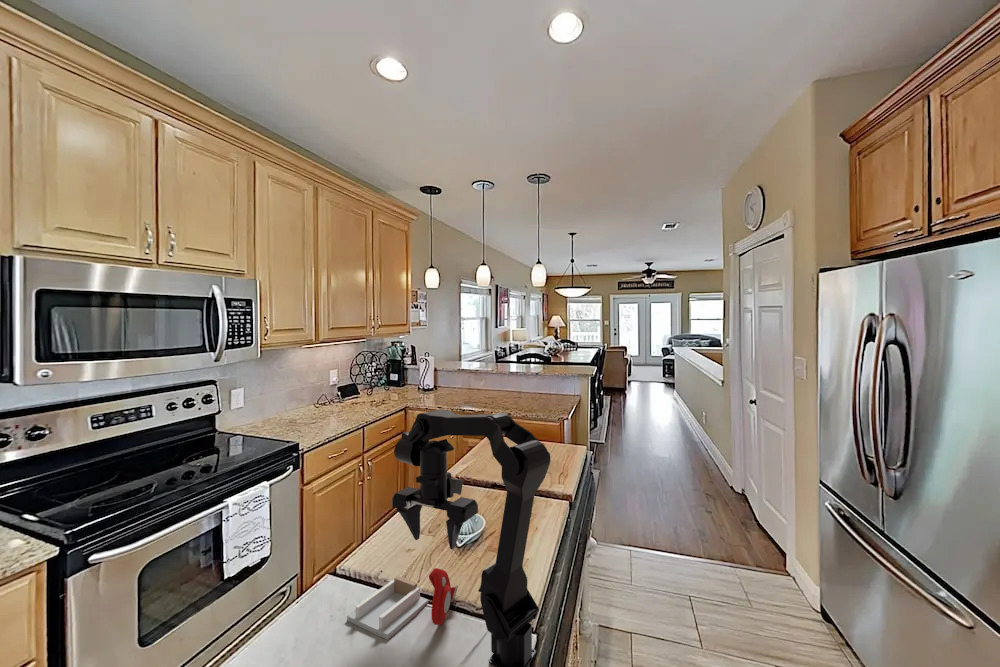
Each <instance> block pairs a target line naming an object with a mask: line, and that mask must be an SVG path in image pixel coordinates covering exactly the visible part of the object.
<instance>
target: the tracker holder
mask: <svg viewBox="0 0 1000 667" xmlns="http://www.w3.org/2000/svg"><path fill="white" fill-rule="evenodd" d="M428 579H429V581H430V583H431V585H432V587H433V588H434V591H433V597H432V603H431V605H432V606H431V622H432V623H433V624H434V625H435V626H441V625H442V624H443V623H444V622H445V619H446V618H447V614H448V613H449V610H450V607H451V603H453V602H455V600H456V596H457V591H458V588H459V585H458V584H456V585H455V586H452V585H451V581H450V577H449V574H448V573H447V571H445V570H443V569H441V568H436V567H434V568H433V569H432V570H431V572H430V573H429V575H428Z"/></svg>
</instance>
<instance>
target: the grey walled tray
mask: <svg viewBox="0 0 1000 667" xmlns="http://www.w3.org/2000/svg"><path fill="white" fill-rule="evenodd" d="M393 578H394V579H392V580H391V581H389V582H388V583H386V584H385V585H384V586H382V587H380V588H379V589H377V591H375V592H373V593H372V594H371V595H369V596H368V597H367V598H365V599H364V600H362V601H361V602H359V603H358V604H356V605H355V609H354V610H353V611H351V612H350V613H349V614H347V616H346V621H347V622H349V623H351V624H353V625H355V626H357V627H359V628H361V629H364V630H366V631H368V632H370V633H372V634H373V635H374V634H375V635H376V636H379V637H381V638H382V639H385V640H387V641H389V639H390V638H392V637H393V636H394V635H395V634H396V633H397V632H398V631H400V630H401V629H402V628H403V627H404V626H406V625H407V624H408V623H410V621H411V620H413V618H415V617H416V616H417V615H418V614H419V613H420V612H421V611H422V610H423V609H424V608H425V607H426V606H427V605H428V604H429V599H427V598H425V597H422V596H421V588H420V587H418V583H417V582H415V581H413V580H409V579H406V578H404V577H401V576H399V575H397V576H395V577H393Z"/></svg>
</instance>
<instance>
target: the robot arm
mask: <svg viewBox="0 0 1000 667" xmlns="http://www.w3.org/2000/svg"><path fill="white" fill-rule="evenodd" d="M446 436H461V437H462V436H466V437H485V438H486V439H487V440H488V441H489V445H490V448H491V449H490V450H491V453H492V457H493V458H494V459H495V460H496V461H497V463H498V464H499V465H500V466H501V480H502V482H503V485H504V486H505V488H506V494H505V503H504V509H503V513H502V522H501V526H500V533H499V540H498V546H497V552H496V559H495V563H493V564H491V565H490V566H488V567H487V568H485V569H483V570H482V573H481V576H480V577H481V578H480V580H481V581H480V586H479V589H478V593H480V598H479V599H480V605H481V609H482V613H483V617H484V622H485V625H486V630H487V631H488V633H491V634H490V638H491V639H490V640H491V642H490V643H491V644H490V645H491V646H490V648H491V650H490V651H491V653H492V655H491V656H490V657H489V658H488V664H489V665H491V666H494V667H529V665H530V663H531V662H532V661H533V659H534V658H535V656H536V653H537V650H536V649H535V648H533V640H532V639H533V635H532V634H533V633H532V632H533V626H532V623H531V622H533V621H534V620H536V619H537V617H538V614H539V612H540V609H539V607H538V605H537V602H536V601H535V599H534V598H533V595H532V593H530V591H529V589H528V576H527V574H526V572H525V569H524V567H523V566H524V565H523V564H524V561H525V560H524V559H525V553H526V546H527V543H528V542H527V540H528V537H529V535H528V534H529V529H530V524H531V517H532V512H533V505H534V500H535V496H536V493H537V491H538V490H539V488H540V486H541V485H542V483H543V482H544V480H545V479H546V476H547V473H548V471H549V470H548V469H549V467H550V465H551V453H550V451H549V450H548V449H547V447H546V446H545V445H544V443H542V442H541V441H540V440H539V439H538V438H537V437H536V436H535V435H534V434H533V433H532V432H531V431H530V430H528V429H526V428H524V427H523V426H521V425H520V424H519V423H517V422H516V421H515V420H514V419H513V418H512V416H511V415H510V414H508V413H505V412H499V413H493V414H491V413H489V414H487V413H486V414H485V413H484V414H456V413H454V411H452V410H446V409H438V410H432V411H426V412H421V413H418V414H416V417H415V421H413V425H412V426H411V428H410V430H409V431H404V432H401V438H400V439H398V440H397V442H396V444H395V447H394V450H393V454H394V458H395V459H396V460H397V461H399V462H401V463H405V464H408V465H411V466H413V467H414V466H415V467H419V475H418V476H416V480H415V482H416V483H418V484H419V487H420V488H416V487H411V486H407V487H405V488H403V489H401V490H399V491H397V492H394V494H393V496H392V498H391V506H392V508H393V509H396V512H397V513H399V514H400V517H401V518H403V519H402V520H404V522H405V524H406V525H407V527H408V529H409V531H410V533H411V535H412V537H413V539H414V541H419V539H420V536H421V511H422V508H423V507H427V508H431V509H436V510H441V511H446V516H447V520H446V521H445V524H446V531H447V537H448V539H447V540H448V546H449V548H450V550H454V549H455V548H456V545H457V541H458V539H459V535H460V533H461V530H462V528H463V526H464V524H465V523H466V522H468V521H469V520H470V519H471V518H473V517H474V516H476V515H477V514H478V513H479V505H478V502H477V500H475V499H473V498H468V497H463V496H461V497H459V498H457V499H456V500H453V501H451V500H448V499H451V498H453V497H454V495H459V496H460V495H462V491H463V486H464V480H463V479H457V478H452V473H451V472H449V471H448V453H449V452H451V451H452V452H453V451H454V449H455V448H454V446H453V445H452V444H451V443H450V442H449V441H448V439H447V438H444V439H441V440H434V439H438V438H442V437H446ZM504 437H505V438H507V439H508V440H510V441H512V442H513V443H514V444H515V445H513V446H510V445H508V443H506V441H505V439H504Z"/></svg>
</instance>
